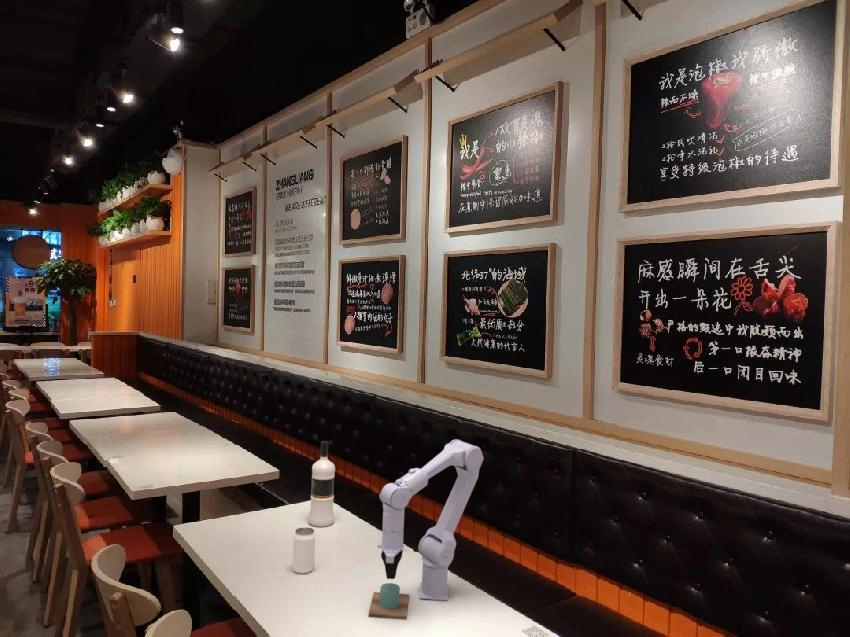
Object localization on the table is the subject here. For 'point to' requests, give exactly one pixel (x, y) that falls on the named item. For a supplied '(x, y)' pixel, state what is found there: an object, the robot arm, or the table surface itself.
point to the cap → (389, 595)
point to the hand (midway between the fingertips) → (390, 577)
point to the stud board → (393, 613)
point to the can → (303, 550)
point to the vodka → (322, 490)
